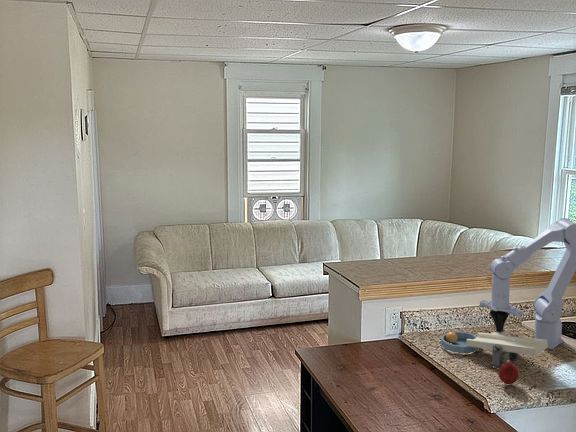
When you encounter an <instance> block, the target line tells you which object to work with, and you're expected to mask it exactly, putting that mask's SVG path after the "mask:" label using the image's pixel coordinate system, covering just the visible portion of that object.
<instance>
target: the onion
mask: <svg viewBox="0 0 576 432" xmlns="http://www.w3.org/2000/svg"><path fill="white" fill-rule="evenodd" d="M497 371H498V372H497V374H498V379H500V381H501V382H502V383H503V382H504V384H505V383H506V384H510V385H513V384H514V383H516V382H518V380H519V377H520V375H519V374H520V373H519V370H518V368H517V366H516V365H515V364H513V363H511V361H510V360H507V362H506V363H505V364H503V365H501V367H500V368H499V370H498V369H497ZM506 384H505V385H506Z"/></svg>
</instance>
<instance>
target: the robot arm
mask: <svg viewBox="0 0 576 432" xmlns="http://www.w3.org/2000/svg"><path fill="white" fill-rule="evenodd" d="M552 242H556V243H557V242H558V243H563V245H564V246H565V248H566V250H564V253H563V255H562V257H561V260H560V262H559V263H558V266H557V267H556V269H555V272H554V274H553V276H552V278H551V280H550V282H549V284H548V285H547V288H546V289H545V290H543V291H541V292H540V294H539V296H537V298H535V299H534V301H533V302H532V307H533V310H534V311H535V316H534V317H535V318H534V319H535V322H534V338H533V339H540V340H543V339H545V340H547V343H548V348H547V349H548V350H553V349H555V348H556V347H558V346H559V345H560V344H562V343H563V342H564V341H565V340H564V338H562V334H563V333H562V331H563V330H562V329H563V327H562V326H563V324H562V323H563V322H562V320H561V317H562V315H563V313H562V311H563V310H562V309H563V307H564V299H563V296H564V295H565V293H566V291H567V289H568V286H569V284H570V283H571V281H572V279H573V277H574V275H575V272H576V222H575V221H574V222H573V221H572V220H570V219H569V218H565V217H564V218H563V217H562V218H560V219H557V220H556V221H555V222H553V223H551V224H550V225H549V226H548V227H547V229H545V230H544V231H543V232H541V233H540V234H539V235H537V236H536V237H535V238H534V239H532V240H531V241H530V242H528V243H526V244H525V245H518V246H513V247H512V250H511V251H509V252H508V253H506V254H505V255H502V256H500V258H495V259H494V260H492V262H491V263H490V265H489V270H490V271H491V273H492V275H491V276H492V277H491V301H489V300H485V299H482V300H480V301H479V307H480V308H487V309H491V311H490V312H489V315H490V317H491V318H492V320H493V322H494V323H493V324H494V325H495V326H494V327H495V331H501V330H503V329H504V327H505V323H506V321H507V319H508V317H509V315H513V316H516V317H518V318H520V317H521V316H522V313H523V312H522V311H523V310H522V309H520V308H517V307H514V306H513V305H511V304H510V289H511V288H510V285H511V283H510V280H511V279H510V277H512V276H513V272H514V271H515V270H516V269H518V268H519V267H521V266H522V265H524V264H525V263H527V262H528V261H530V260H531V258H532V254H534V253H536V252H538V251H539V250H541V249H542V248H544V247H546V246H547V245H549V244H551V243H552Z"/></svg>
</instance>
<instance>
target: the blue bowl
mask: <svg viewBox="0 0 576 432" xmlns="http://www.w3.org/2000/svg"><path fill="white" fill-rule="evenodd" d="M449 332H450V331H449ZM449 332H448V331H447V332H446V333H444V334H442V335H441V339H440V342H441V343H440V344H441V345H442V346H443V347H444V348H445V349H447V350H450V351H453V352H458V353H469V352H474V351H476V350H478V351H479V348H478V347H471V346H467V341H466V340H467V339H475V338H477V337H478V336H477V335H475V334H473V333H469V332H466V331H456V330H455V331H453V332H454V333H456V334H457V336H458V339H457V341H456V342H455V343H452V344H450V343H447V342H448V341H447V340H446V335H447V333H449ZM446 341H447V342H446ZM441 345H440V346H441Z"/></svg>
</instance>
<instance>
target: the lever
mask: <svg viewBox="0 0 576 432" xmlns="http://www.w3.org/2000/svg"><path fill="white" fill-rule="evenodd" d="M508 332H509V329H507V328H503V330H501V331H496V330H494V331H492V332H491V333H487V332H486V333H485V332H477V336H476V337H477V338H475V339H467V340H466V341H467V346H471V347H478V349H486V350H487V349H488V350H492V349H493V346H494V345H496V346H499V347H502V352H506V353H508V352H513V353H518V354H520V355H530V356H538V355H539V354H541V353H542V352H544V351H545V350H546V349H548V343H547V340H545V339H543V340H540V339H534V338H530V337H520V336H519V337H514V336H510V335H506V334H507V333H508Z"/></svg>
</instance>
